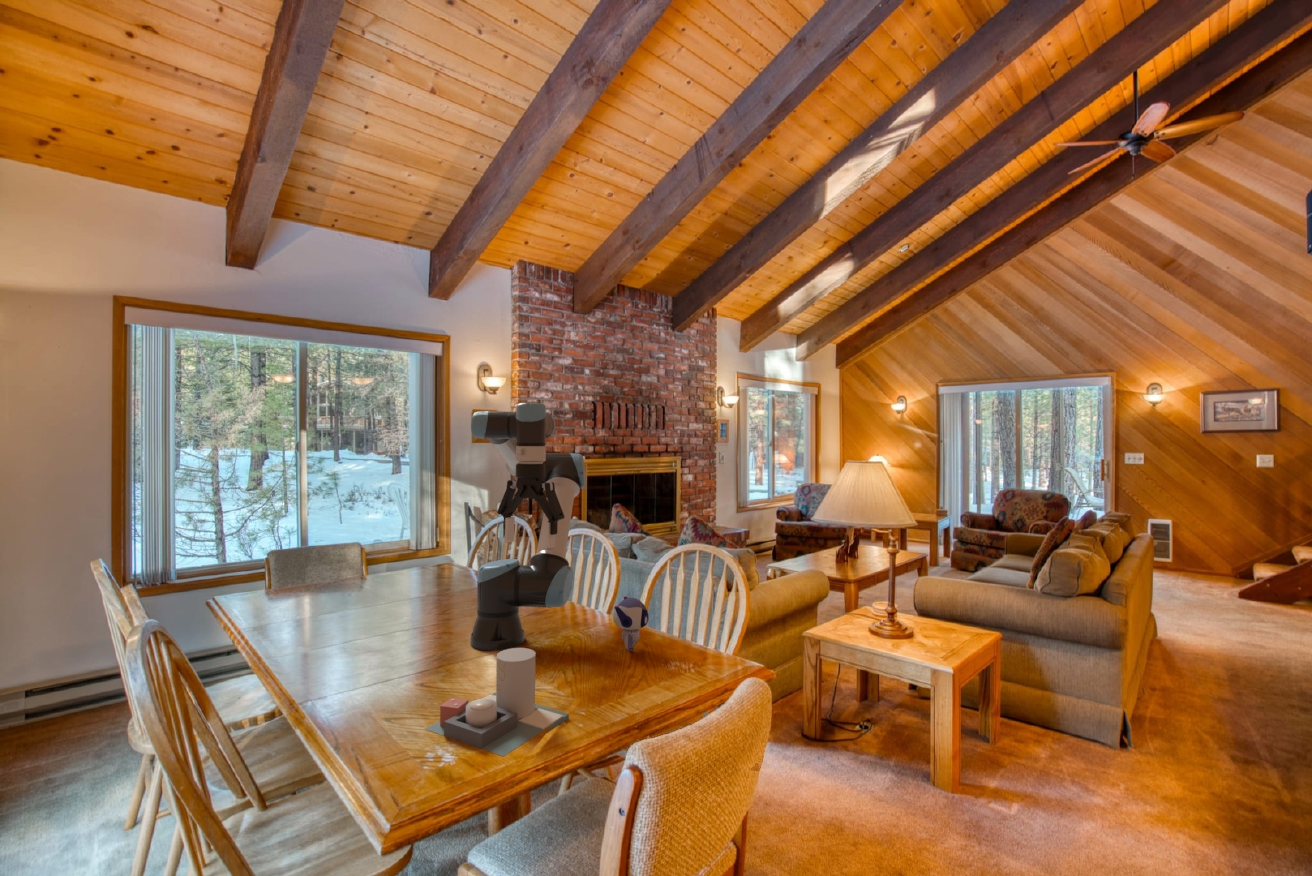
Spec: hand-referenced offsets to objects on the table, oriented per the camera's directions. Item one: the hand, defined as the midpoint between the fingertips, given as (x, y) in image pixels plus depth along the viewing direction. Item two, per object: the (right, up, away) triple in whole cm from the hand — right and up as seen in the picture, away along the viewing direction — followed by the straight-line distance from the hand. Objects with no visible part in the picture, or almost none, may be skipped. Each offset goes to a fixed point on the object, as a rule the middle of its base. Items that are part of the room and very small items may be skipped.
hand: (529, 544), depth 160 cm
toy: (+26, -32, +12) cm, 43 cm away
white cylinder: (+3, -31, -28) cm, 42 cm away
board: (0, -32, -32) cm, 45 cm away
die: (-9, -31, -33) cm, 46 cm away
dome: (-2, -30, -36) cm, 47 cm away
